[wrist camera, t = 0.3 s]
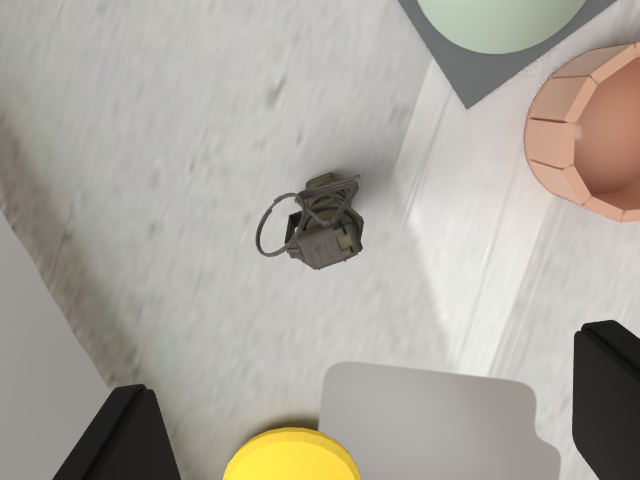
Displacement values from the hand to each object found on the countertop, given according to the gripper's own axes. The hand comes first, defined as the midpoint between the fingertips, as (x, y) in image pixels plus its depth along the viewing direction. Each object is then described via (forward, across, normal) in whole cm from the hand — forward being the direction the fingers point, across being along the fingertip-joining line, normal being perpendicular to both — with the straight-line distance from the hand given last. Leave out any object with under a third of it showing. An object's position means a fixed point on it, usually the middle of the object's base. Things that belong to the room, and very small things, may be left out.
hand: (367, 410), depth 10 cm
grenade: (+36, +2, +2) cm, 36 cm away
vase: (+36, +9, +35) cm, 51 cm away
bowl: (+35, -26, 0) cm, 44 cm away
